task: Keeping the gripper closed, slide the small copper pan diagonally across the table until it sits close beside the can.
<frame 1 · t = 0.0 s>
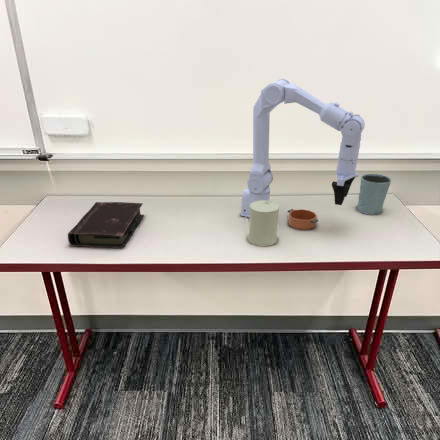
hand: (340, 200, 137), 10 cm above the table, tool pointing down, fingers open, 7 cm apart
can: (262, 239, 137), on the table
diary: (110, 230, 142), on the table
pan: (301, 224, 146), on the table
grey cylinder: (369, 210, 156), on the table
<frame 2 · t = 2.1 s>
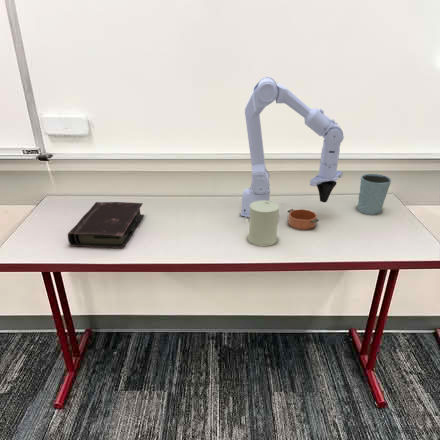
hand: (323, 201, 148), 6 cm above the table, tool pointing down, fingers closed
nothing on the table moved.
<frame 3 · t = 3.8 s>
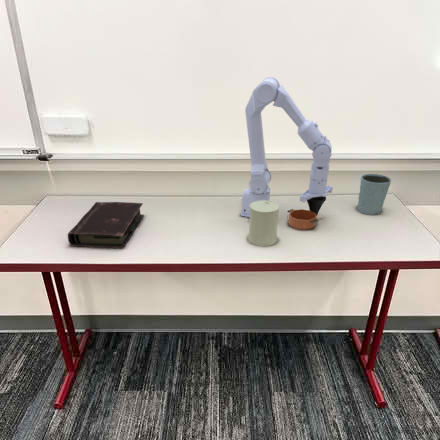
hand: (313, 216, 148), 1 cm above the table, tool pointing down, fingers closed
pan: (301, 224, 146), on the table, touching gripper
everything else where it was.
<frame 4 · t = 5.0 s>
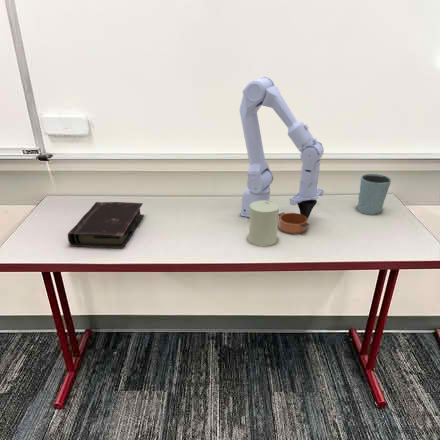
hand: (304, 219, 146), 1 cm above the table, tool pointing down, fingers closed
pan: (292, 227, 143), on the table, touching gripper
everything else where it was.
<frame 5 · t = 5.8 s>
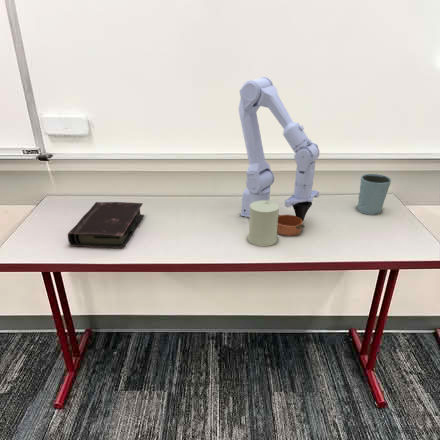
hand: (299, 221, 144), 1 cm above the table, tool pointing down, fingers closed
pan: (287, 229, 142), on the table, touching gripper
everything else where it was.
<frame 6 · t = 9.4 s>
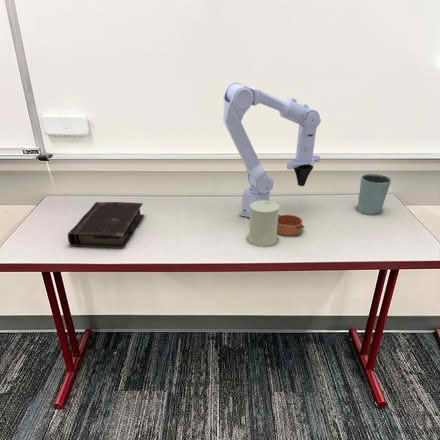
hand: (301, 185, 151), 9 cm above the table, tool pointing down, fingers closed
pan: (287, 229, 142), on the table
everything else where it was.
at the end: pan 11.4 cm from the can (horizontally); pan moved 7.2 cm from its start; can moved 0.2 cm from its start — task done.
